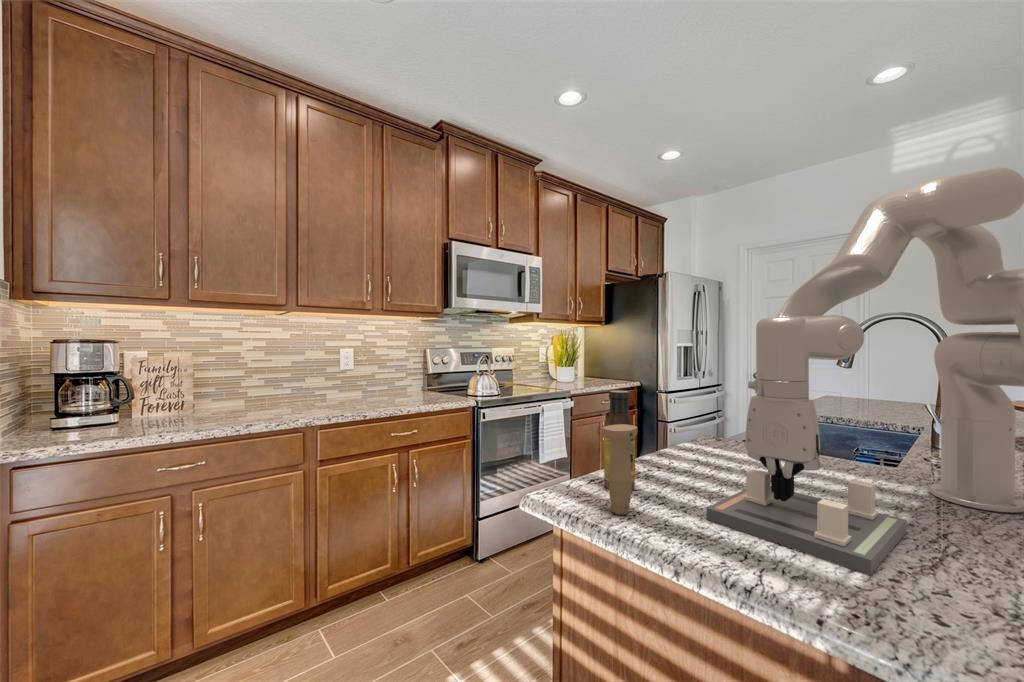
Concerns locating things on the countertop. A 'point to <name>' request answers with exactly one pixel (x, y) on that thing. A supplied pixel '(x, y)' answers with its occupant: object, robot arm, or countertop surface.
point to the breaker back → (861, 499)
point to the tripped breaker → (758, 487)
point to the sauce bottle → (616, 416)
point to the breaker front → (832, 522)
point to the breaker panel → (811, 529)
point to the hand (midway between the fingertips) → (782, 498)
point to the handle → (620, 466)
